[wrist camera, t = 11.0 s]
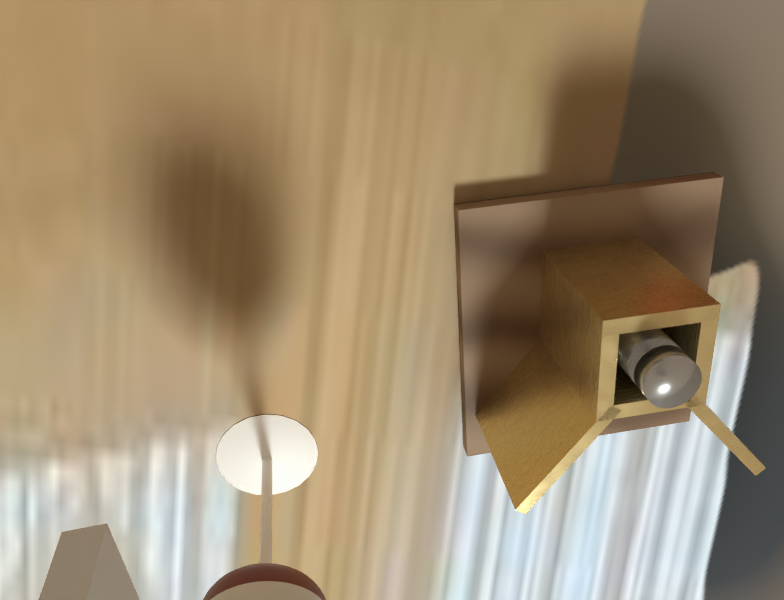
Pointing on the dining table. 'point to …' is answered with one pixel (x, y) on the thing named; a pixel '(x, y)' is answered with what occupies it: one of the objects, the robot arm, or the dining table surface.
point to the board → (554, 231)
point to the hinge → (594, 361)
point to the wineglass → (266, 501)
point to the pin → (659, 367)
